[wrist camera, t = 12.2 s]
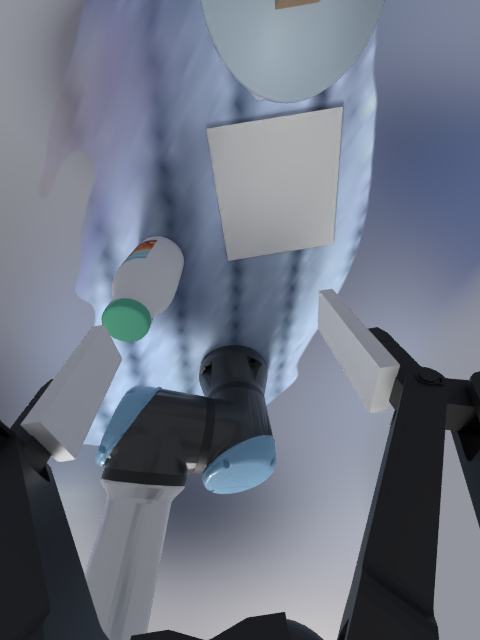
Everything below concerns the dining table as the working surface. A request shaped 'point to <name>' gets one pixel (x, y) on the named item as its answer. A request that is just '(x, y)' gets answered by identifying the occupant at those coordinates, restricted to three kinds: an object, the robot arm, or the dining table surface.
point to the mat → (277, 182)
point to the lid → (290, 42)
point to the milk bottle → (143, 288)
